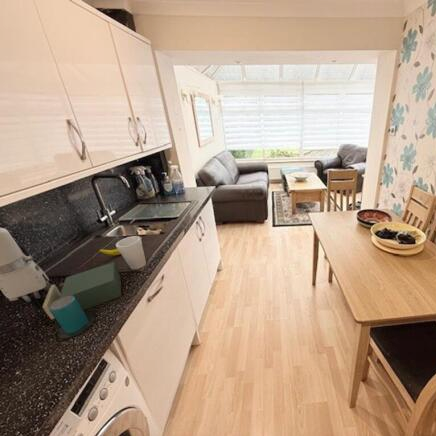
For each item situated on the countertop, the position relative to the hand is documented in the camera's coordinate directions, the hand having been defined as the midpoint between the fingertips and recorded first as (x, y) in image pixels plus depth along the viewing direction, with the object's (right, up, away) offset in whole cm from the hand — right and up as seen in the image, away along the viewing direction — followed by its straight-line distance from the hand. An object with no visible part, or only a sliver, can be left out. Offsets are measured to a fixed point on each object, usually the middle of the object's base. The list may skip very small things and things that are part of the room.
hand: (41, 305), depth 85 cm
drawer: (+8, 0, +6) cm, 10 cm away
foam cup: (+19, +10, +25) cm, 33 cm away
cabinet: (+13, +1, +9) cm, 16 cm away
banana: (+4, +14, +37) cm, 39 cm away
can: (+17, -5, -5) cm, 19 cm away
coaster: (+17, -5, -5) cm, 19 cm away
